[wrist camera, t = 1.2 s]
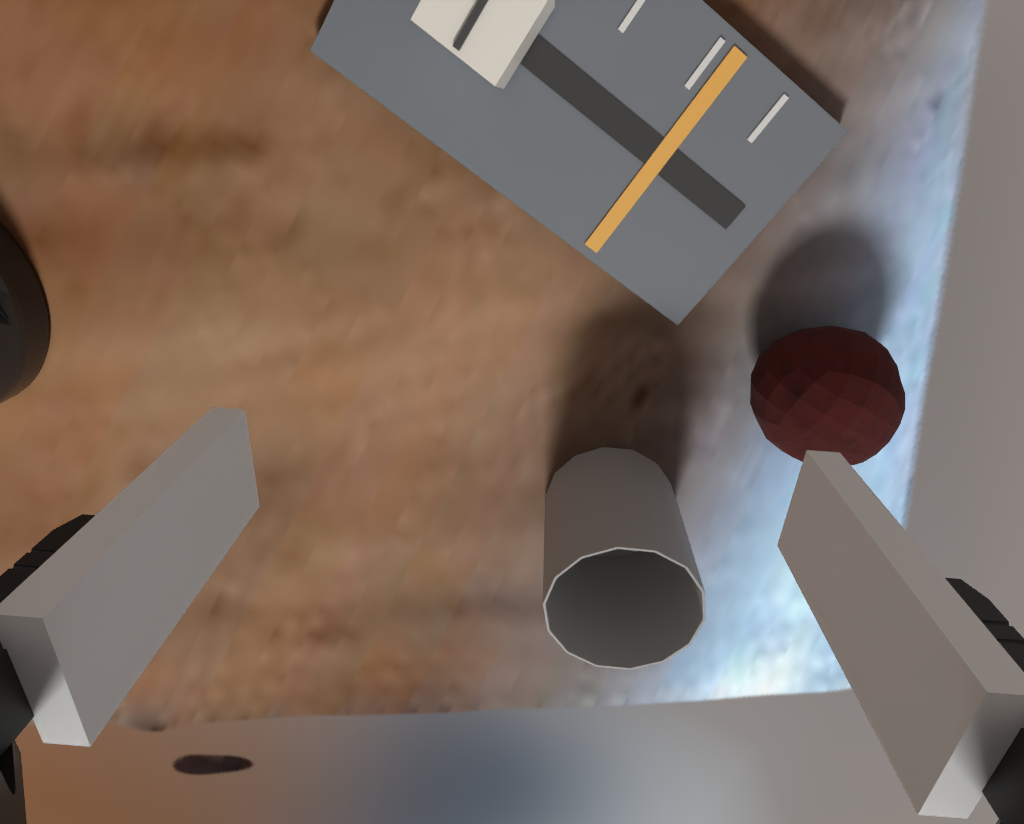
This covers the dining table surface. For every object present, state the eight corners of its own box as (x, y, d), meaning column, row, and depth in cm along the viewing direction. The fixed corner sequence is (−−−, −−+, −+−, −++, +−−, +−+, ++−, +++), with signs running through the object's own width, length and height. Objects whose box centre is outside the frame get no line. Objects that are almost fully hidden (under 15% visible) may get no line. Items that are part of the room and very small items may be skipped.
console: (318, 52, 31) (309, 50, 30) (449, -218, 26) (444, -234, 25) (674, 318, 36) (678, 326, 35) (838, 130, 31) (849, 131, 30)
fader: (432, 32, 29) (409, 18, 24) (481, -56, 27) (465, -88, 23) (503, 88, 30) (494, 85, 25) (554, 7, 28) (555, -13, 23)
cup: (612, 422, 39) (629, 518, 30) (699, 501, 41) (740, 612, 32) (519, 503, 42) (510, 611, 33) (605, 572, 44) (618, 691, 35)
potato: (814, 446, 39) (864, 512, 33) (708, 391, 38) (740, 449, 31) (898, 347, 36) (972, 399, 29) (786, 284, 35) (838, 324, 28)
